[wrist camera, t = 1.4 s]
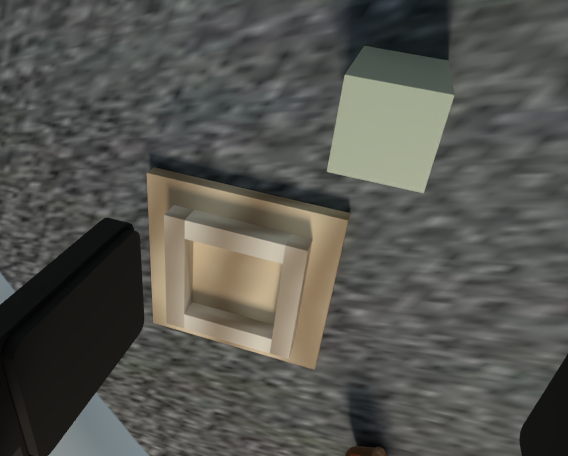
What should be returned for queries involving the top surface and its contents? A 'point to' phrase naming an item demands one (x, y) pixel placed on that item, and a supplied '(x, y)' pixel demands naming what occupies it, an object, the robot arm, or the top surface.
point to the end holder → (242, 265)
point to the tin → (366, 451)
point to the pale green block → (391, 118)
